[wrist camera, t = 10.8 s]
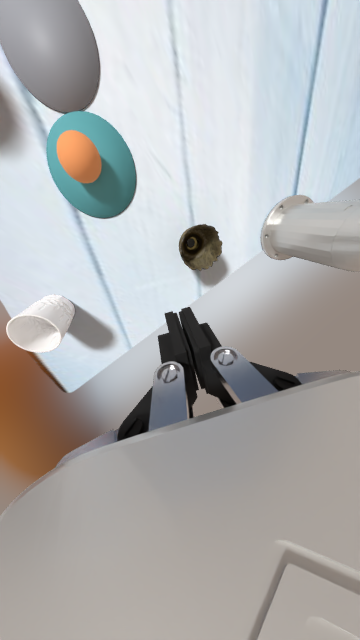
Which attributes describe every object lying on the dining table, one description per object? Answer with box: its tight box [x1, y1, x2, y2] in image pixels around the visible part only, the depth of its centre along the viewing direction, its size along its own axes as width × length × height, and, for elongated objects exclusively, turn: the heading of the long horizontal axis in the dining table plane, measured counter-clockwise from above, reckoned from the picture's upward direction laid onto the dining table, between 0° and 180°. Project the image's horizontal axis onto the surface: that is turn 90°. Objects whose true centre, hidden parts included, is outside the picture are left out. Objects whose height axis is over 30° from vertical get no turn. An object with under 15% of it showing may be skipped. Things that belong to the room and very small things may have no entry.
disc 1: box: [0, 0, 99, 113], centre depth 22 cm, size 11×11×1 cm
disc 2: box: [47, 111, 136, 218], centre depth 28 cm, size 13×13×1 cm
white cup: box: [6, 295, 75, 352], centre depth 34 cm, size 8×8×10 cm
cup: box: [179, 224, 222, 271], centre depth 33 cm, size 8×7×8 cm
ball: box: [57, 130, 102, 183], centre depth 25 cm, size 6×6×6 cm
